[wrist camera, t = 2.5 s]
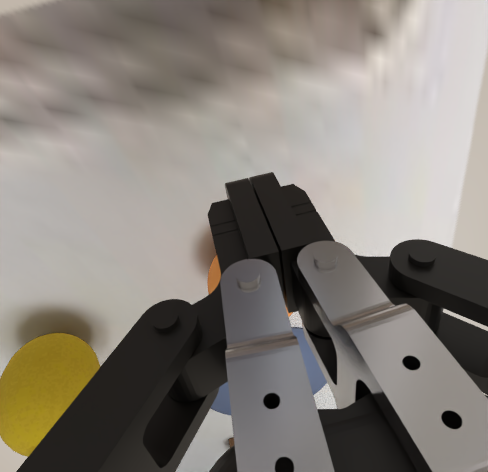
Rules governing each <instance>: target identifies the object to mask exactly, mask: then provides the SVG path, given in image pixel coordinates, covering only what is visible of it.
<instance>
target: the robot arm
mask: <svg viewBox="0 0 488 472" xmlns="http://www.w3.org/2000/svg"><path fill="white" fill-rule="evenodd" d="M225 188H226V193H227V198H228V200H224V201H220V202H215V203H212V205H211V207H210V210H209V212H208V218H209V223H210V227H211V232H212V236H213V240H214V245H215V249H216V253H217V258H218V262H219V266H220V271H221V278H220V281H219V283H218V285H217V287H216V288H215V290H214V291H213V292H212V293H211V294H209V295H208V296H207V297H205V298H204V299H202V300H200V301H198V302H197V303H195V304H193V305H191V304H190V303H188V302H186V301H184V300H179V299H171V300H165V301H162V302H159V303H157V304H155V305H153V306H152V307H150V308H149V309H148V310H147V311H146V312H145V313H144V314H143V315H142V316H141V318H140V319H139V320H138V321H137V322H136V324H135V325H134V326H133V327H132V329H131V330H130V331H129V332H128V334H127V335H126V336H125V337H124V339H123V340H122V341H121V342H120V344H119V345H118V346H117V347H116V349H115V350H114V351H113V352H112V353H111V355H110V356H109V357H108V358H107V360H106V361H105V362H104V363H103V365H102V366H101V367H100V368H99V370H98V371H97V372H96V373H95V375H94V376H93V377H92V378H91V380H90V381H89V382H88V383H87V385H86V386H85V387H84V388H83V389H82V391H81V392H80V393H79V394H78V396H77V397H76V398H75V399H74V401H73V402H72V403H71V404H70V406H69V407H68V408H67V409H66V411H65V412H64V413H63V414H62V416H61V417H60V418H59V419H58V421H57V422H56V423H55V424H54V425H53V427H52V428H51V429H50V430H49V432H48V433H47V434H46V435H45V437H44V438H43V439H42V440H41V442H40V443H39V444H38V445H37V447H36V448H35V449H34V450H33V452H32V453H31V454H30V455H29V457H28V458H27V459H26V460H25V461H24V463H23V464H22V465H21V466H20V468H19V469H18V470H17V472H175V471H176V469H177V467H178V466H179V464H180V462H181V460H182V458H183V456H184V455H185V453H186V451H187V449H188V447H189V446H190V444H191V442H192V440H193V438H194V437H195V435H196V433H197V431H198V429H199V427H200V426H201V424H202V422H203V420H204V418H205V417H206V415H207V413H208V411H209V409H210V408H211V406H212V404H213V402H214V400H215V399H216V397H217V394H218V392H219V387H220V386H222V385H223V384H225V383H226V382H228V387H229V396H230V406H231V415H232V425H233V434H234V444H235V445H233V446H232V447H231V448H230V449H228V450H227V451H226V452H225V453H224V454H223V455H222V456H221V457H220V458H219V460H218V461H217V462H216V463H215V465H214V466H213V467H212V468H211V470H210V471H209V472H488V396H486V395H484V394H483V393H485V394H487V395H488V331H486V330H483V329H481V328H479V327H476V326H474V325H472V324H469V323H467V322H464V321H462V320H460V319H457V318H455V317H453V316H450V315H448V314H446V313H443V308H444V309H447V310H449V311H451V312H454V313H456V314H459V315H461V316H463V317H466V318H468V319H471V320H473V321H475V322H478V323H480V324H483V325H485V326H487V327H488V260H486V259H482V258H480V257H477V256H473V255H471V254H467V253H465V252H461V251H458V250H455V249H453V248H450V247H447V246H444V245H441V244H438V243H435V242H431V241H427V240H408V241H404V242H402V243H399V244H398V245H396V246H395V247H394V248H393V250H392V251H391V255H390V257H364V256H358V255H354V254H353V252H352V251H351V250H350V249H349V248H348V247H346V246H345V245H343V244H341V243H338V242H335V240H334V239H333V237H332V235H331V234H330V232H329V230H328V229H327V227H326V225H325V224H324V222H323V220H322V219H321V217H320V215H319V214H318V212H316V209H315V207H314V206H313V204H312V203H311V201H310V199H309V197H308V196H307V194H306V192H305V191H304V190H302V189H300V188H299V187H297V186H295V185H294V184H291V185H287V186H282V187H281V186H280V184H279V183H278V181H277V179H276V177H275V175H274V173H273V172H271V173H267V174H263V175H258V176H254V177H250V178H249V179H248V178H246V179H242V180H238V181H233V182H229V183H225ZM285 305H286V306H285ZM286 307H287V309H286ZM287 310H288V313H291V312H295V311H298V312H299V314H300V316H301V319H302V326H303V334H304V336H305V338H306V340H307V342H308V344H309V346H310V348H311V350H312V352H313V354H314V356H315V358H316V360H317V362H318V364H319V367H320V369H321V371H322V373H323V375H324V377H325V379H326V381H327V383H328V385H329V387H330V389H331V391H332V393H333V396H334V398H335V401H336V405H337V409H317V407H316V403H315V400H314V396H313V392H312V389H311V385H310V382H309V378H308V375H307V371H306V367H305V364H304V360H303V357H302V353H301V349H300V346H299V343H298V340H297V337H296V336H294V335H293V331H292V328H291V324H290V320H289V317H288V313H287ZM482 392H483V393H482Z"/></svg>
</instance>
